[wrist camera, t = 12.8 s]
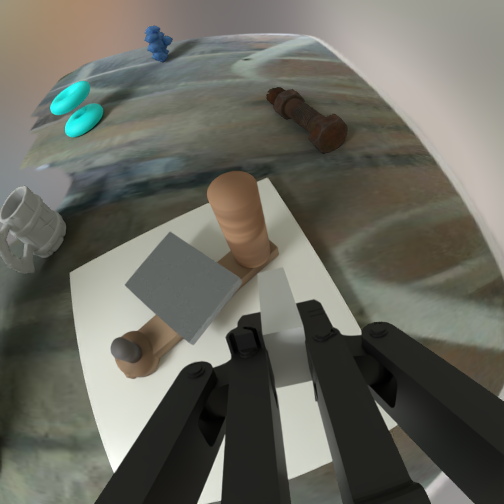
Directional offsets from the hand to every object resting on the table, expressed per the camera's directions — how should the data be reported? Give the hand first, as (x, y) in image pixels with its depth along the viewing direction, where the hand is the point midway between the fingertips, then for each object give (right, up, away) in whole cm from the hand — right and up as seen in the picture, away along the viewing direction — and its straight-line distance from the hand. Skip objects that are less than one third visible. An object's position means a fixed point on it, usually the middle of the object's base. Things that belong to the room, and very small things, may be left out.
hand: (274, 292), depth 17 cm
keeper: (-7, -3, +13) cm, 15 cm away
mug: (-33, +3, +21) cm, 39 cm away
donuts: (-38, +31, +37) cm, 62 cm away
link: (-7, -3, +11) cm, 13 cm away
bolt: (+6, +21, +25) cm, 33 cm away
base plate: (-6, -7, +11) cm, 14 cm away
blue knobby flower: (-24, +53, +47) cm, 74 cm away
